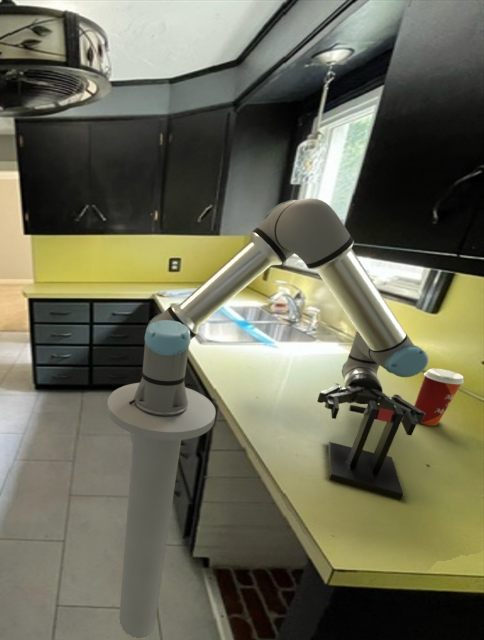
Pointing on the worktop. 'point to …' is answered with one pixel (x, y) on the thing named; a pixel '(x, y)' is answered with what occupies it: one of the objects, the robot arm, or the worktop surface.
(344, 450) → the bracket
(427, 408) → the paper cup
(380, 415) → the lever
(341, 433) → the worktop surface
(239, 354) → the worktop surface
